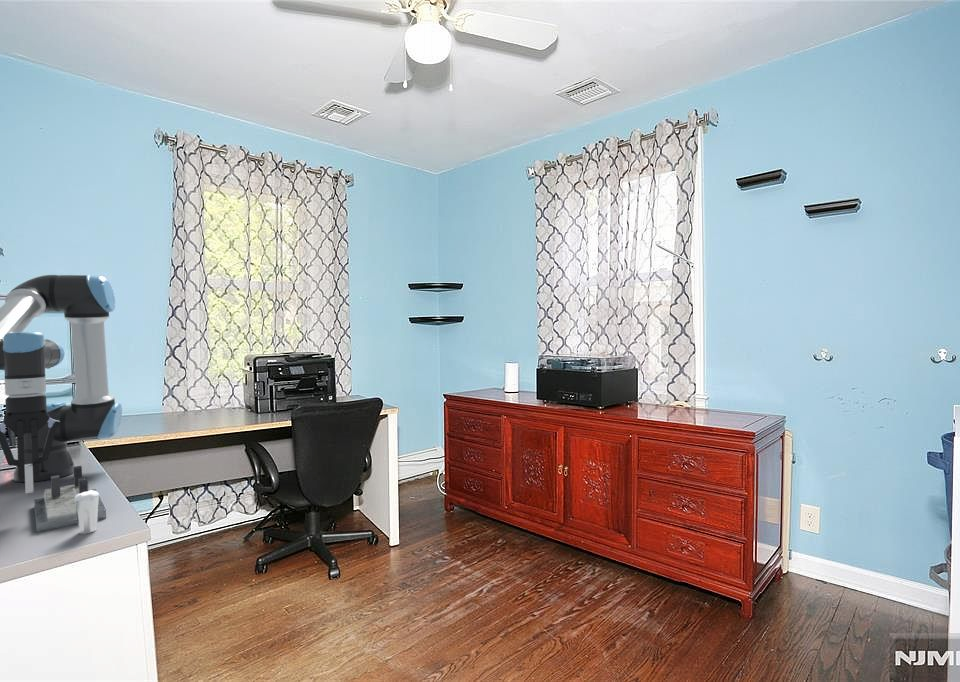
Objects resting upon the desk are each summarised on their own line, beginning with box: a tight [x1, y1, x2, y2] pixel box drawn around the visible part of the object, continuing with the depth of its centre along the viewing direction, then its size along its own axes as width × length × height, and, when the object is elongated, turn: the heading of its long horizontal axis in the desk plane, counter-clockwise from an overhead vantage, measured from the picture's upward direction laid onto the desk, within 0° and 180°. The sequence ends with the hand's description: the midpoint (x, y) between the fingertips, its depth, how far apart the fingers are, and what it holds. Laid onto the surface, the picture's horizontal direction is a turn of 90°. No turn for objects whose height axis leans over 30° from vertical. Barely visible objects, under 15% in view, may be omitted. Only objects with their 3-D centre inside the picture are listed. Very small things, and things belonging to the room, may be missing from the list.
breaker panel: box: [33, 465, 107, 533], centre depth 132 cm, size 24×13×10 cm, turn 41°
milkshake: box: [72, 488, 100, 535], centre depth 119 cm, size 5×5×10 cm
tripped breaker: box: [50, 475, 61, 498], centre depth 131 cm, size 3×2×5 cm, turn 41°
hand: (29, 491), depth 127 cm, fingers closed
